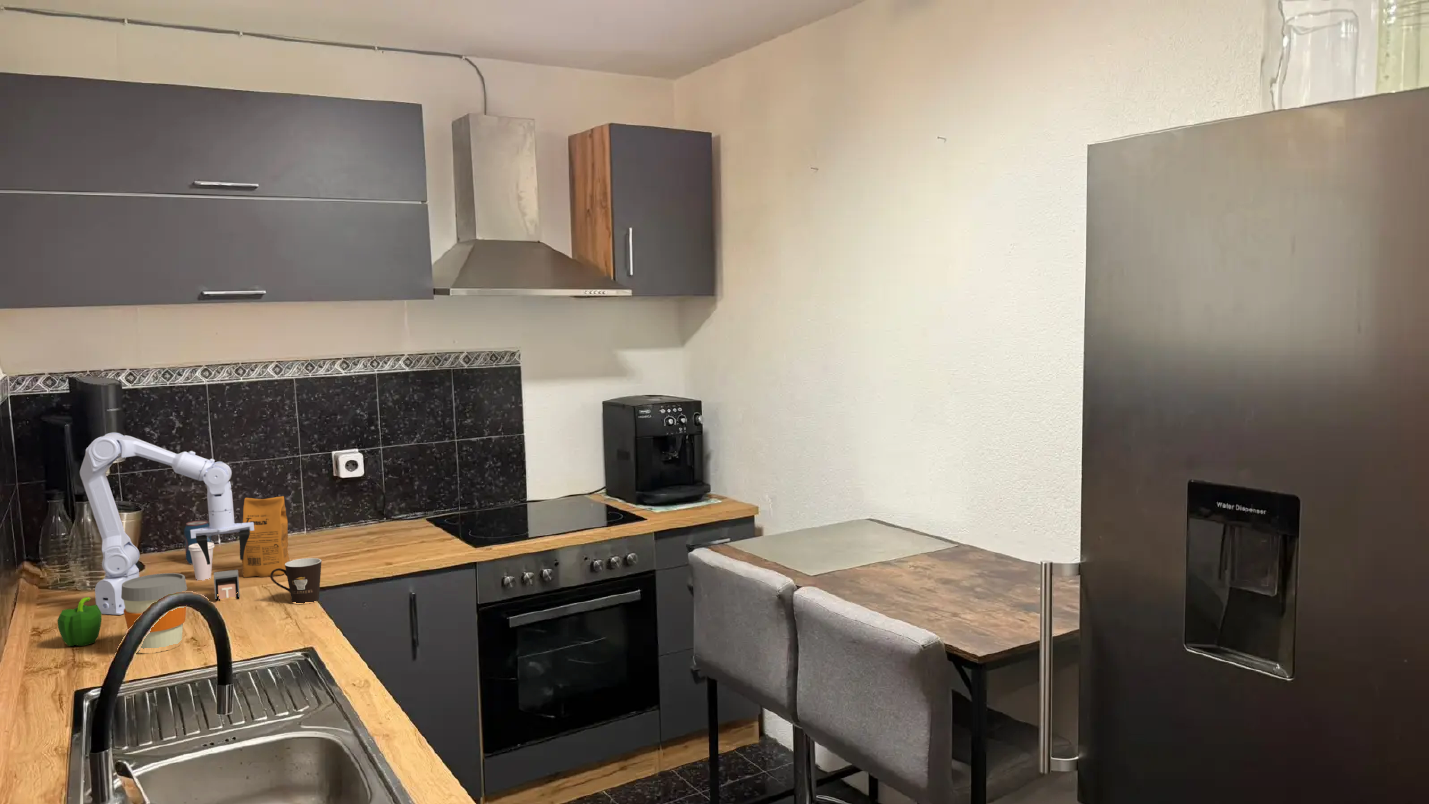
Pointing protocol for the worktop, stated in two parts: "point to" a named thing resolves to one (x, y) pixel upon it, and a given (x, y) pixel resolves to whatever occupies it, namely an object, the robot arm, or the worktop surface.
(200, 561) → the smoothie
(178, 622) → the reusable coffee cup
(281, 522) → the coffee package
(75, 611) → the bell pepper
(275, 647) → the worktop surface
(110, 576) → the robot arm
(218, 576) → the grey hollow cube
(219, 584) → the letter cube
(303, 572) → the coffee mug
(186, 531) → the soda can
